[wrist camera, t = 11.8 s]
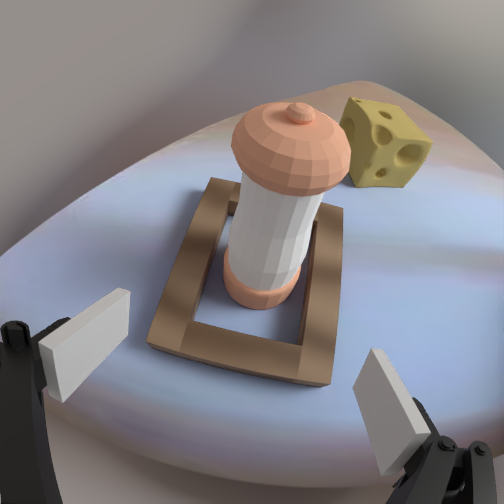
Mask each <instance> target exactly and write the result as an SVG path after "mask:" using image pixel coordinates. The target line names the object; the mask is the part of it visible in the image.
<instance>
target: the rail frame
mask: <svg viewBox="0 0 504 504" xmlns="http://www.w3.org/2000/svg"><path fill="white" fill-rule="evenodd" d="M240 188H241V183H238V182H233V181H228V180H223V179H218V178H213V177H211V178H210V181H209V183H208V185H207V187H206V189H205V192H204V194H203V196H202V198H201V201H200V203H199V205H198V207H197V210H196V212H195V214H194V217H193V219H192V221H191V224H190V226H189V228H188V231H187V233H186V235H185V238H184V240H183V243H182V245H181V248H180V250H179V253H178V255H177V258H176V260H175V263H174V265H173V268H172V270H171V273H170V275H169V278H168V281H167V283H166V286H165V288H164V291H163V294H162V297H161V299H160V302H159V305H158V307H157V310H156V313H155V316H154V319H153V321H152V324H151V327H150V330H149V333H148V336H147V339H146V342H147V343H148V344H149V345H150V346H151V347H152V348H154V349H157V350H160V351H163V352H166V353H169V354H172V355H176V356H179V357H182V358H186V359H189V360H193V361H196V362H200V363H204V364H207V365H211V366H215V367H219V368H223V369H227V370H231V371H236V372H240V373H244V374H249V375H253V376H258V377H263V378H268V379H273V380H279V381H284V382H290V383H296V384H302V385H308V386H315V387H324V386H327V385H330V383H331V376H332V369H333V361H334V353H335V345H336V335H337V326H338V315H339V302H340V289H341V272H342V249H343V208H341V207H337V206H334V205H330V204H326V203H322V202H321V203H320V205H319V208H318V210H317V213H316V215H315V218H314V220H313V224H312V229H311V234H312V237H311V246H310V255H309V263H308V271H307V279H306V287H305V294H304V301H303V308H302V315H301V321H300V328H299V334H298V340H297V345H295V344H290V343H285V342H280V341H275V340H270V339H266V338H261V337H257V336H252V335H248V334H244V333H239V332H235V331H231V330H227V329H223V328H219V327H215V326H211V325H207V324H204V323H200V322H196V321H194V317H195V314H196V311H197V308H198V305H199V301H200V298H201V295H202V292H203V289H204V286H205V283H206V279H207V276H208V273H209V270H210V267H211V264H212V261H213V258H214V255H215V252H216V249H217V246H218V243H219V240H220V237H221V234H222V231H223V228H224V225H225V222H226V219H227V217H228V215H232V216H234V214H235V211H236V208H237V205H238V202H239V197H240Z"/></svg>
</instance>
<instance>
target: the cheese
mask: <svg viewBox="0 0 504 504" xmlns="http://www.w3.org/2000/svg"><path fill="white" fill-rule="evenodd" d="M339 126H340V127H341V128H342V129H343V130H344V132H345V134H346V137H347V139H348V142H349V145H350V149H351V158H350V166H349V174H350V176H351V178H352V180H353V183H354V185H355V187H356V188H363V187H404V186H405V185H406V184H407V183H408V181H409V180H410V179H411V178H412V177H413V176H414V175H415V174H416V172H417V171H418V170H419V168H420V167H421V166H422V164H423V163H424V161H425V159H426V157H427V155H428V153H429V151H430V149H431V146H432V144H433V142H432V140H431V139H430V138H429V137H428V136H427V135H426V134H425V133H424V132H423V131H422V130H420V129H419V128H418V127H417V126H416V125H415V124H414V123H413V122H412V120H411V119H410V118H409V117H408V116H407V115H406V114H405V113H404V112H403V111H402V110H401V109H400V108H399V106H397V105H393V104H388V103H382V102H375V101H369V100H364V99H359V98H354V97H349V99H348V102H347V104H346V107H345V109H344V112H343V115H342V119H341V121H340V124H339Z"/></svg>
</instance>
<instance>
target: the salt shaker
mask: <svg viewBox="0 0 504 504" xmlns="http://www.w3.org/2000/svg"><path fill="white" fill-rule="evenodd" d="M231 147H232V150H233V153H234V155H235V158H236V160H237V163H238V165H239V167H240V168H241V170H242V180H241V188H240V197H239V202H238V205H237V208H236V211H235V214H234V217H233V220H232V223H231V226H230V229H229V240H228V247H227V249H226V251H225V254H224V271H223V280H224V284H225V287H226V290H227V292H228V293H229V294H230V296H231V297H232V299H234V300H235V301H236V302H238V303H239V304H240V305H242V306H245V307H247V308H250V309H255V310H266V309H270V308H274V307H276V306H278V305H279V304H281V303H282V302H284V301H285V300H286V298H287V297H288V296H289V295H290V293H291V291H292V290H293V288H294V286H295V284H296V282H297V280H298V278H299V274H300V271H301V264H302V262H303V260H304V258H305V256H306V253H307V249H308V245H309V240H310V235H311V229H312V224H313V220H314V218H315V215H316V213H317V210H318V208H319V205H320V203H321V200H322V198H323V195H324V193H325V191H327V190H329V189H331V188H333V187H335V186H336V185H337V184H338V183H339V182H340V181H341V180H342V179H343V178H344V177H345V175H346V174H347V173H348V172H349V166H350V158H351V149H350V145H349V142H348V139H347V137H346V134H345V132H344V130H343V129H342V128H341V127H340V126H339V124H338V123H337V122H335V121H334V120H333V119H331V118H330V117H329V116H327V115H326V114H324V113H321V112H319V111H317V110H315V109H313V108H312V107H311V106H309V105H307V104H305V103H300V102H294V103H286V102H277V103H267V104H263V105H259V106H257V107H255V108H253V109H252V110H250V111H249V112H248V113H247V114H246V115H245V116H244V117H243V118H242V119H241V120H240V121H239V123H238V124H237V125H236V127H235V130H234V132H233V135H232V143H231Z"/></svg>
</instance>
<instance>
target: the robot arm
mask: <svg viewBox="0 0 504 504" xmlns="http://www.w3.org/2000/svg"><path fill="white" fill-rule="evenodd" d="M130 292H131V291H128V290H125V289H122V288H119V287H118V288H117V289H115V290H114V291H112V292H111V293H109V294H108V295H106V296H105V297H103V298H101V299H100V300H98V301H97V302H95V303H94V304H92V305H91V306H89V307H88V308H87V309H85V310H84V311H82V312H81V313H79V314H78V315H76V316H75V317H73V318H72V319H71V318H69V317H66V318H63V319H59V320H57V321H56V322H54V323H53V324H51V325H50V326H48V327H47V328H46V329H44V330H42V331H41V332H39V333H38V334H36V335H35V336H33V337H32V338H31V337H30V331H29V326H28V325H27V324H26V323H24V322H22V321H9V322H6V323H5V324H3V325H2V327H1V328H0V330H1V335H2V340H3V343H2V342H0V494H1V504H63V503H62V499H61V496H60V492H59V488H58V484H57V481H56V476H55V473H54V468H53V463H52V458H51V453H50V448H49V442H48V435H47V428H46V420H45V411H44V399H43V393H42V389H43V388H44V387H45V386H47V388H48V392H49V395H50V396H51V397H53V398H55V399H56V400H58V401H60V402H61V403H64V402H65V400H66V399H67V398H68V397H69V396H70V395H71V394H72V393H73V392H74V391H75V390H76V389H77V388H78V387H79V385H80V384H81V383H82V382H83V381H84V380H85V379H86V378H87V377H88V376H89V375H90V374H91V373H92V372H93V371H94V370H95V369H96V368H97V366H98V365H99V364H100V363H101V362H102V361H103V360H104V359H105V358H106V357H107V356H108V355H109V354H110V353H111V352H112V351H113V350H114V349H115V348H116V347H117V346H118V345H119V344H120V343H121V342H122V341H123V340H124V339H125V338H126V336H127V335H128V325H129V306H130ZM353 390H354V393H355V396H356V399H357V402H358V405H359V408H360V411H361V414H362V417H363V420H364V423H365V426H366V429H367V432H368V435H369V439H370V442H371V445H372V448H373V451H374V455H375V458H376V461H377V464H378V468H379V471H380V475H381V476H391V475H396V474H397V473H398V472H399V471H400V470H401V469H402V468H403V467H404V469H405V472H406V473H405V474H404V475H403V476H402V477H401V478H400V479H399V480H398V481H397V482H396V483H395V484H394V485H393V486H392V487H393V488H394V487H395V486H396V485H397V486H396V488H395V489H394V491H393V493H392V494H391V496H390V498H389V499H388V501H387V502H386V504H497V495H496V484H495V476H494V467H493V461H492V454H491V451H490V448H489V447H488V445H487V444H485V443H484V442H481V441H474V442H472V444H471V445H470V446H469V447H468V449H464V448H457V445H456V443H455V442H454V441H453V440H452V439H450V438H449V437H446V436H440V435H439V433H438V431H437V430H436V428H435V426H434V424H433V423H432V421H431V419H430V418H429V416H428V414H427V412H426V410H425V409H424V407H423V405H422V404H421V403H420V402H419V401H418V400H417V399H416V398H412V397H411V396H410V394H409V392H408V391H407V389H406V387H405V385H404V384H403V382H402V380H401V379H400V377H399V375H398V374H397V372H396V370H395V369H394V367H393V365H392V364H391V362H390V360H389V359H388V357H387V355H386V354H385V352H384V351H383V350H381V349H374V348H371V350H370V352H369V354H368V356H367V359H366V361H365V363H364V365H363V367H362V369H361V371H360V373H359V376H358V378H357V380H356V382H355V384H354V386H353ZM464 484H465V486H464V489H463V485H464Z"/></svg>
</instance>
